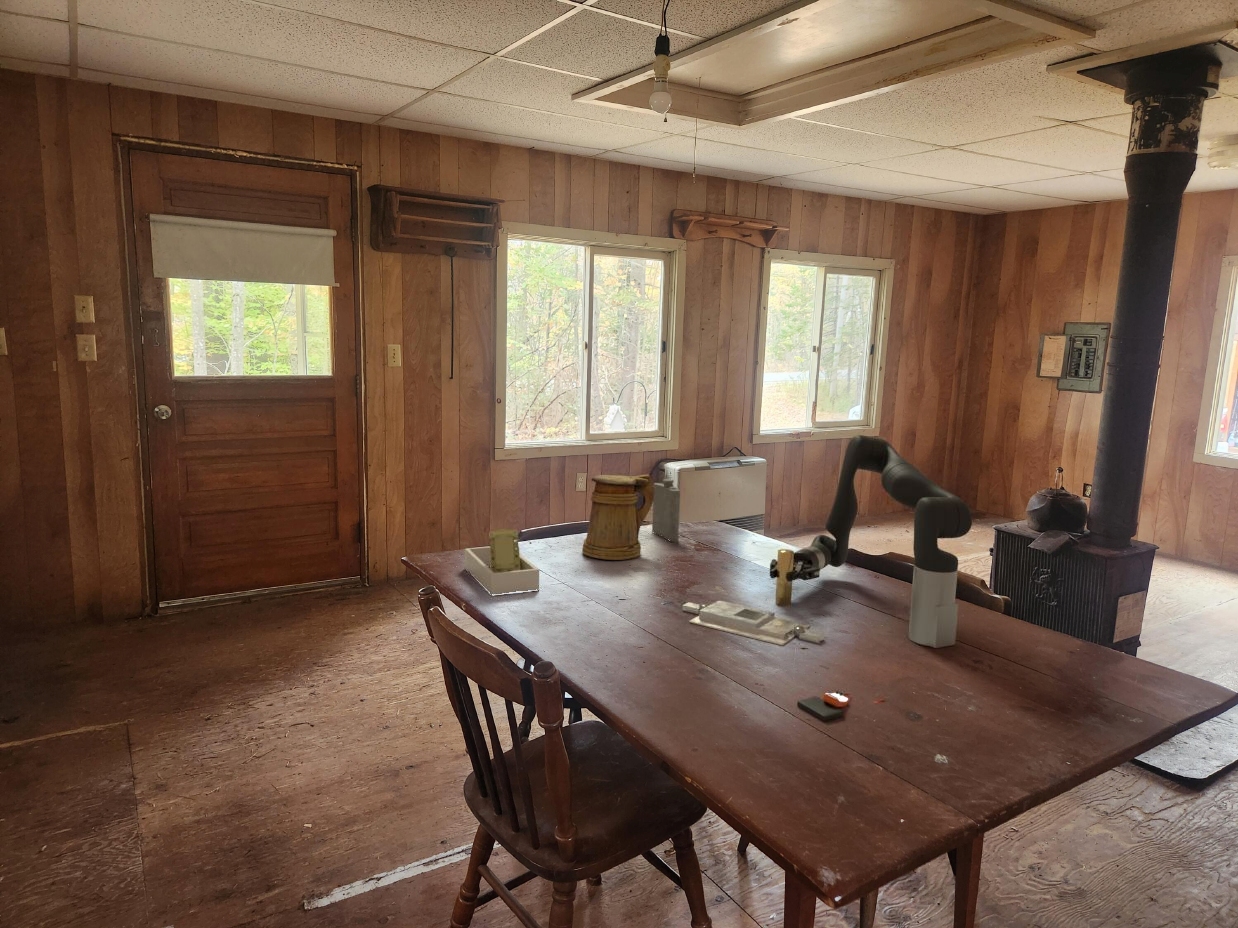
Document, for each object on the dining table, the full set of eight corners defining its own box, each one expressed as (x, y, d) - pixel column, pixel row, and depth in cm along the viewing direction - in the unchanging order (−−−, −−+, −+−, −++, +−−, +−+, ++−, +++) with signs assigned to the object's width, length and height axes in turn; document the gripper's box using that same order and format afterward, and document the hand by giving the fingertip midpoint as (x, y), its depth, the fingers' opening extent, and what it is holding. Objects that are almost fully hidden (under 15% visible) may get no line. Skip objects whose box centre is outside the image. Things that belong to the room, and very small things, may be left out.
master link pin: (794, 605, 208) (797, 552, 206) (781, 606, 206) (784, 553, 204) (784, 600, 211) (787, 548, 209) (772, 602, 210) (774, 549, 208)
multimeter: (855, 683, 161) (855, 666, 161) (899, 707, 150) (900, 690, 150) (781, 699, 154) (781, 682, 153) (821, 726, 143) (822, 707, 142)
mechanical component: (522, 596, 228) (517, 527, 233) (521, 591, 212) (516, 516, 216) (495, 599, 227) (490, 529, 232) (491, 594, 211) (487, 519, 215)
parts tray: (539, 591, 214) (539, 569, 213) (491, 596, 209) (491, 574, 208) (508, 564, 240) (508, 544, 239) (465, 568, 234) (464, 548, 233)
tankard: (573, 549, 259) (574, 472, 255) (638, 543, 269) (640, 469, 265) (596, 564, 242) (597, 482, 239) (664, 556, 253) (667, 478, 249)
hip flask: (650, 531, 286) (652, 476, 283) (660, 531, 287) (662, 475, 284) (671, 542, 271) (673, 483, 268) (682, 541, 273) (684, 483, 270)
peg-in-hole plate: (833, 631, 189) (834, 621, 189) (807, 651, 176) (807, 641, 176) (701, 601, 209) (701, 592, 209) (668, 617, 196) (668, 607, 196)
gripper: (782, 544, 223) (755, 557, 209) (832, 553, 214) (807, 566, 201) (781, 571, 224) (754, 585, 210) (830, 580, 216) (805, 595, 202)
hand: (780, 576), depth 205 cm, fingers closed on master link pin, 4 cm apart
